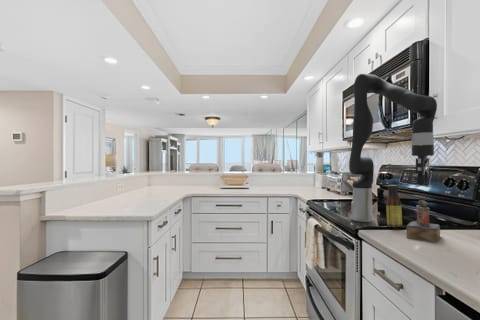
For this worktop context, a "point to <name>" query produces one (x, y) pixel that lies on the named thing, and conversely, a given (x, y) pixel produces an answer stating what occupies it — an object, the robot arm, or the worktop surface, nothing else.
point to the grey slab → (423, 232)
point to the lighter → (422, 214)
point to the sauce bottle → (393, 207)
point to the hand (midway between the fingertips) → (422, 183)
